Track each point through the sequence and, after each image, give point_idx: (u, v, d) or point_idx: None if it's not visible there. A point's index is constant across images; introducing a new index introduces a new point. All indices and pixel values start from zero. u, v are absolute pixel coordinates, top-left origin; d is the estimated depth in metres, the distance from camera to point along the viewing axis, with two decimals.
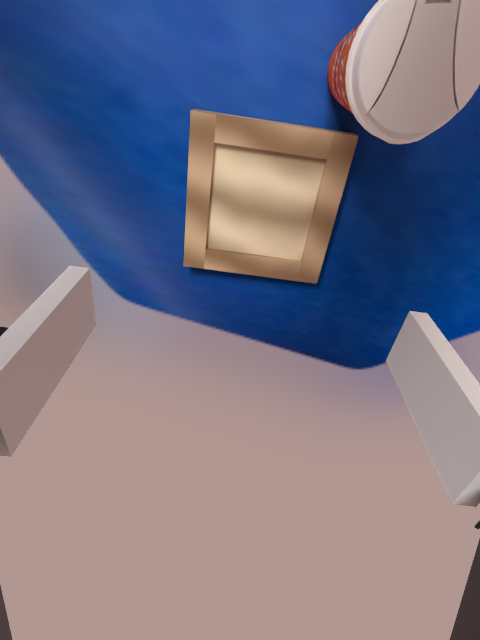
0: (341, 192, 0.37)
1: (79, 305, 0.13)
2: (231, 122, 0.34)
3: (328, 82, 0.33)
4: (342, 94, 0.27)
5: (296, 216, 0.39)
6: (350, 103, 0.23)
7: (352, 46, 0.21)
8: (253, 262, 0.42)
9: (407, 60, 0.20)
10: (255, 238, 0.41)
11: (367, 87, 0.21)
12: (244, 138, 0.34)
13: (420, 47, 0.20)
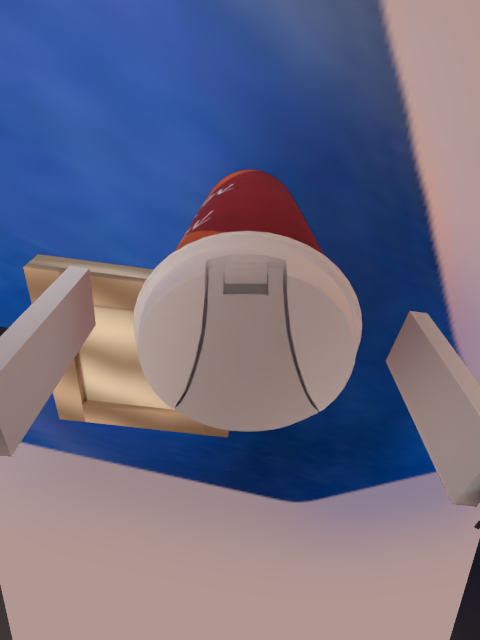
0: None
1: (79, 305, 0.13)
2: None
3: None
4: None
5: None
6: None
7: (134, 318, 0.13)
8: (145, 417, 0.33)
9: (216, 358, 0.12)
10: (144, 392, 0.32)
11: (161, 384, 0.13)
12: (102, 297, 0.26)
13: (233, 345, 0.12)
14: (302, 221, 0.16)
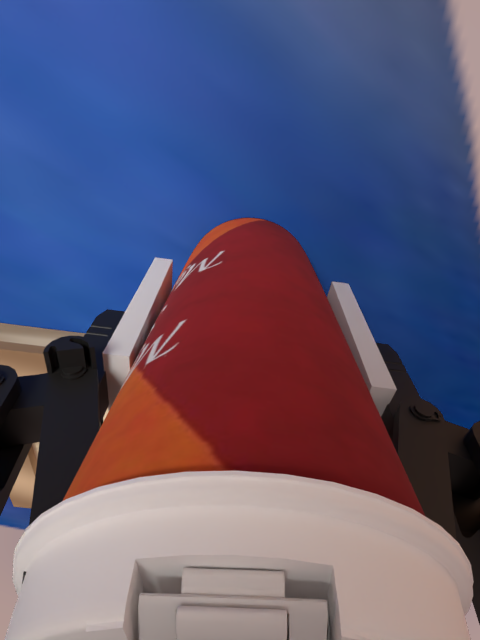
0: None
1: (166, 293, 0.15)
2: (25, 359, 0.19)
3: None
4: None
5: None
6: None
7: None
8: None
9: None
10: None
11: None
12: None
13: None
14: (333, 331, 0.10)
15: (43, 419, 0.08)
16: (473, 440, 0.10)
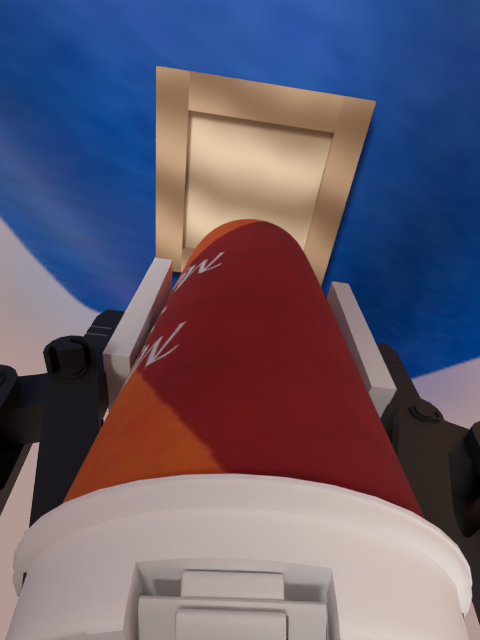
0: (352, 176, 0.29)
1: (166, 293, 0.15)
2: (210, 83, 0.26)
3: None
4: None
5: (294, 207, 0.31)
6: None
7: None
8: None
9: None
10: None
11: None
12: (227, 104, 0.27)
13: None
14: (333, 333, 0.10)
15: (43, 419, 0.08)
16: (473, 440, 0.10)
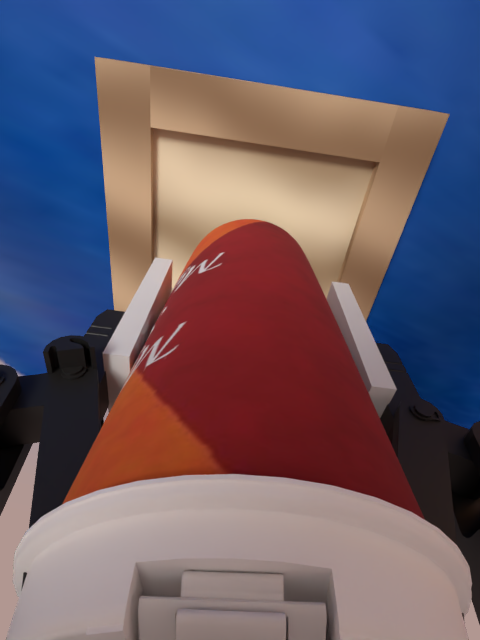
0: (402, 225, 0.19)
1: (166, 292, 0.15)
2: (184, 85, 0.16)
3: None
4: None
5: (313, 265, 0.21)
6: None
7: None
8: None
9: None
10: None
11: None
12: (212, 118, 0.17)
13: None
14: (333, 333, 0.10)
15: (43, 419, 0.08)
16: (473, 440, 0.10)
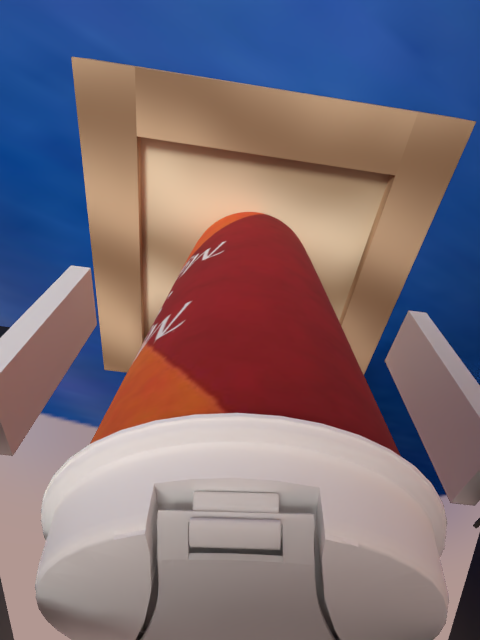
0: (418, 244, 0.17)
1: (80, 305, 0.13)
2: (173, 88, 0.14)
3: None
4: None
5: None
6: None
7: None
8: None
9: (183, 620, 0.06)
10: None
11: (89, 639, 0.07)
12: (206, 126, 0.15)
13: (213, 610, 0.06)
14: (327, 312, 0.10)
15: None
16: None
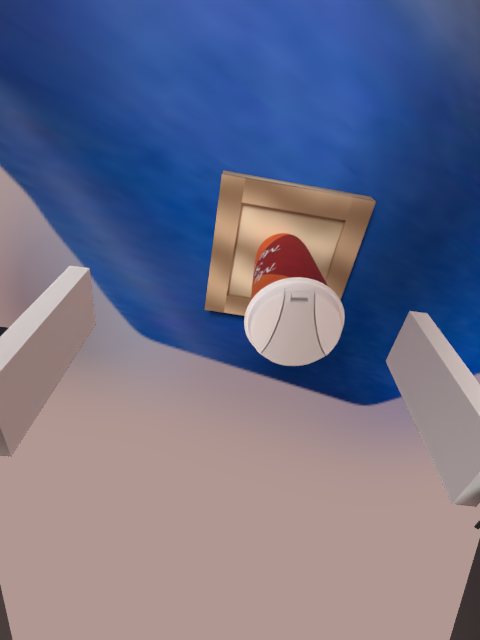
0: (357, 249, 0.40)
1: (79, 305, 0.13)
2: (259, 186, 0.36)
3: None
4: None
5: None
6: (249, 340, 0.31)
7: (246, 311, 0.29)
8: None
9: (283, 328, 0.28)
10: None
11: (257, 341, 0.29)
12: (270, 199, 0.37)
13: (291, 323, 0.28)
14: (317, 268, 0.33)
15: None
16: None
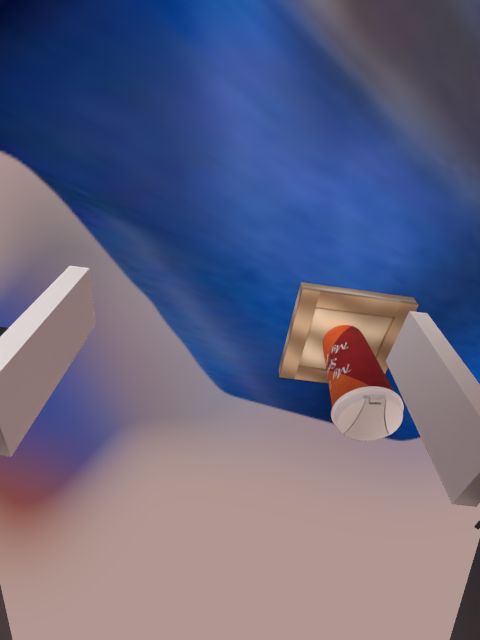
0: None
1: (79, 305, 0.13)
2: (330, 296, 0.48)
3: None
4: None
5: None
6: None
7: (334, 406, 0.41)
8: None
9: (361, 419, 0.41)
10: None
11: (342, 426, 0.41)
12: (337, 305, 0.49)
13: (367, 416, 0.40)
14: (378, 365, 0.45)
15: None
16: None
